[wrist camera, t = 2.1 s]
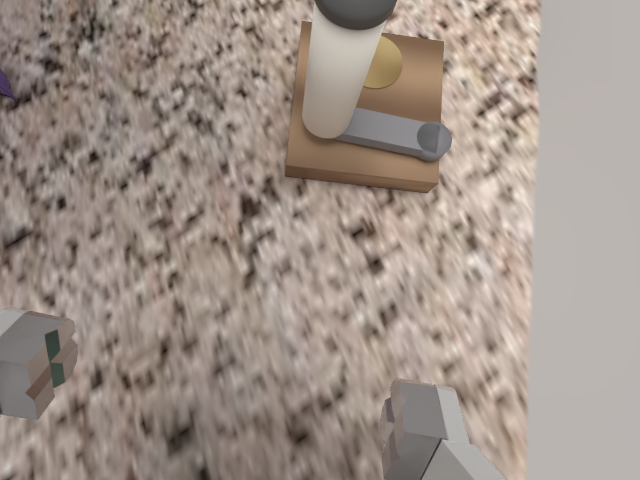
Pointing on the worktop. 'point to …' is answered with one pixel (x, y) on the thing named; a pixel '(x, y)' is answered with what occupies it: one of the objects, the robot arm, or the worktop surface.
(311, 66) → the hinged leg
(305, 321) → the worktop surface
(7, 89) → the snack package
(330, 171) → the wooden base
